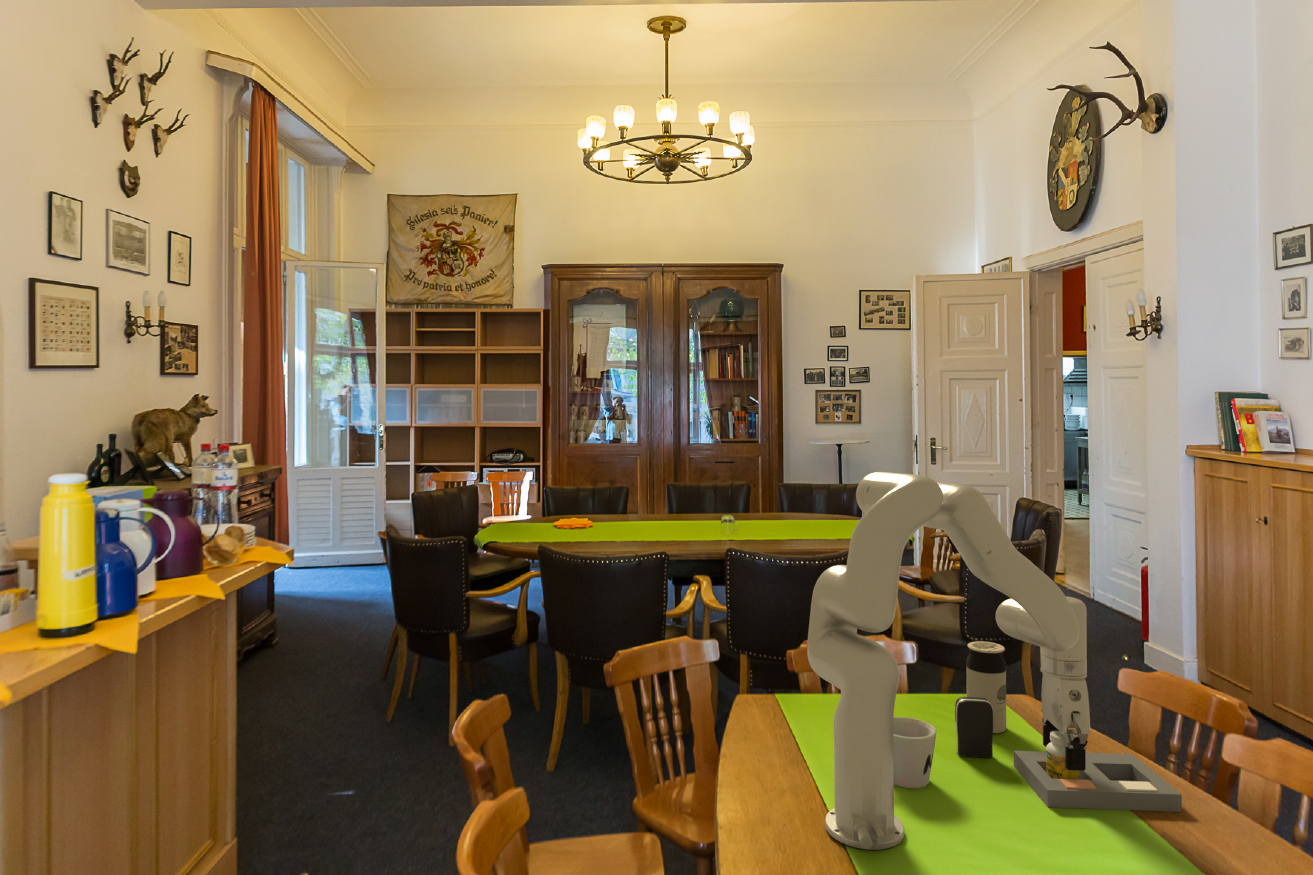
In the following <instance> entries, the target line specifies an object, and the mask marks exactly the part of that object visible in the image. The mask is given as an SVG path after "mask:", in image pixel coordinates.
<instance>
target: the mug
mask: <svg viewBox="0 0 1313 875" xmlns="http://www.w3.org/2000/svg"><path fill="white" fill-rule="evenodd" d="M893 739H894V786H898V787H901V788H904V789H923V788H924V787H926V786H928V784H929V783H930V777H931V771H932V765H933V760H934V752H935V745H936V740H937V729H936V728H935V726H934V725H932V724H931V723H929V722H927V721H924V720H922V719H917V718H913V717H907V716H906V717H905V716H894V718H893Z"/></svg>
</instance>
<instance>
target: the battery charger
mask: <svg viewBox="0 0 1313 875" xmlns="http://www.w3.org/2000/svg"><path fill="white" fill-rule="evenodd" d="M954 704H955V705H954V721H955V729H956V753H957V755H958V756H961V757H970V758H986V759H987V758H988V759H989V758H990V759H991V758H993V757H994V756H993V755H994V753H993V752H994V751H993V745H994V744H993V741H994V740H993V738H994V737H993V736H994V734H993V708H992V705H991V704H990V703H989V702H988V701H987V700H986V699H985V698H979V697H967V696H959V697H958V698H956V701H955V702H954Z"/></svg>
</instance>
